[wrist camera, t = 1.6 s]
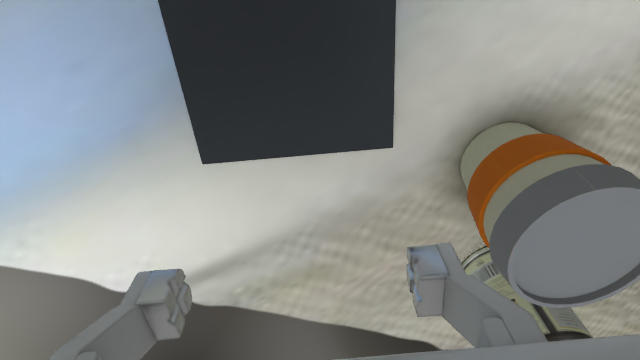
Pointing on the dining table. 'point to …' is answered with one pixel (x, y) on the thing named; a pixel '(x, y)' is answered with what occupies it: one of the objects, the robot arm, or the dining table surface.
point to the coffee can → (550, 320)
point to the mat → (284, 75)
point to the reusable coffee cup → (553, 215)
